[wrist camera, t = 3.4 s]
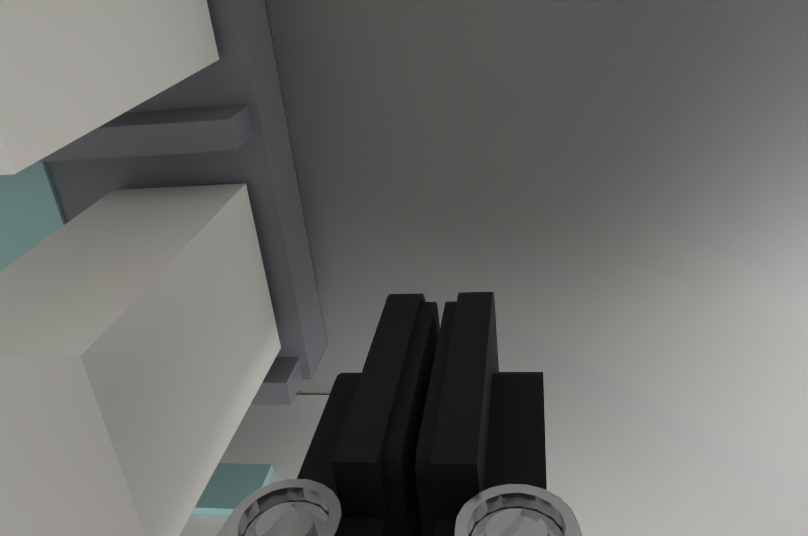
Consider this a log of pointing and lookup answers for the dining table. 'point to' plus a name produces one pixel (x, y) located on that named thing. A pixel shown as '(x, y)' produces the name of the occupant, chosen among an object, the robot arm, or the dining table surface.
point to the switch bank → (197, 176)
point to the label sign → (257, 459)
